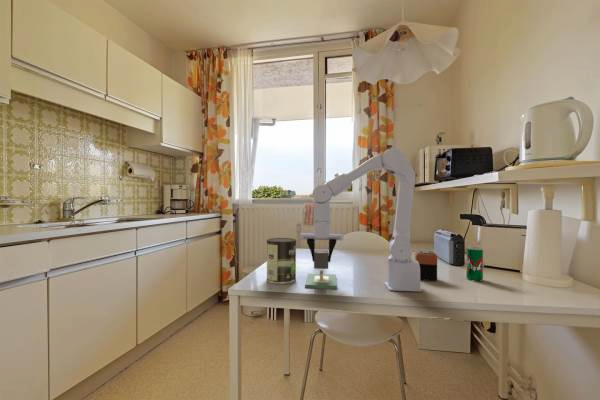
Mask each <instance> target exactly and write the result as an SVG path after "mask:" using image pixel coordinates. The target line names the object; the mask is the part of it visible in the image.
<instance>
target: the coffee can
mask: <svg viewBox="0 0 600 400" xmlns="http://www.w3.org/2000/svg"><path fill="white" fill-rule="evenodd" d="M296 258H297V239H295V238H290V237H274V238H273V237H272V238H267V239H266V282H268V283H270V284H274V285H287V284H291V283H294V282H296V281H297V280H296V279H297V278H296V277H297V275H296V273H297V272H296V271H297V259H296Z"/></svg>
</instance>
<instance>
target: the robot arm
mask: <svg viewBox="0 0 600 400" xmlns="http://www.w3.org/2000/svg"><path fill="white" fill-rule="evenodd" d="M383 169H384V170H385V171H387V172H388V173H390V174H392V175H393V176H394V177H395V178H396V180H398V187H397V197H396V205H395V206H396V207H395V216H394V224H393V230H392V237H391V239H390V241H389V242H388V246H387V247H388V251H389V252H390V255H389V256H388V257H387V281H384V285H385V286H386V287H387V289H388V290H389V291H396V292H398V291H399V292H401V291H402V292H422V290H421V280H420V265H419V262H418V261H416V260H415V259H412V255H413V248H412V246H411V233H410V231H411V220H412V211H413V203H414V202H413V201H414V192H415V184H416V183H415V182H416V173H415V170H414V169H413V167H412V165H411V163H410V161H409V159H408V157H407V155H406V154H405V153H404V152H403V151H401V150H400V149H398V148H396V147H391V148H387V149H386V150H385V151H384V152H380V153H377V154H375V156H373V157H371V158H369V159H367V160H366V161H365V162H363V163H361V164H360V165H358V166H357V167H355V168H354V169H352V170H351V171H350V172H348V173H345V172H341V173H335V174H334V175H333V176H334V177H332V178H331V179H329V180H327V181H323V182H322V184H318V185H317V186H316V187H315V188H314V189H313V190H312V193H311V194H312V197H313V215H312V216H313V224H312V225H313V228H312V229H313V230H312V232H313V233H300V236H299V239H300V240H301V241H303V240H306V243H307V245H308V249H309V251H310V254H311V258H312V262H313V263H314V252H315V249H316V248H315V247H316V244H315V243H316V241H328V263H331V259H332V255H333V252H334V249H335V246H336V245H337V241H341V242H343V241H344V234H343V233H341V234H339V233H331V201H330V200H331V199H332V197H334V198H335V197H336V196H338V195H339V194H342V193H343V192H346V191H347V190H348V189H350V188H351V186H352V183H353V182H354V181H356V180H358V179H360V178H362V177H363V176H365V175H366V174H369V173H370V172H372V171H382V170H383Z"/></svg>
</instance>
